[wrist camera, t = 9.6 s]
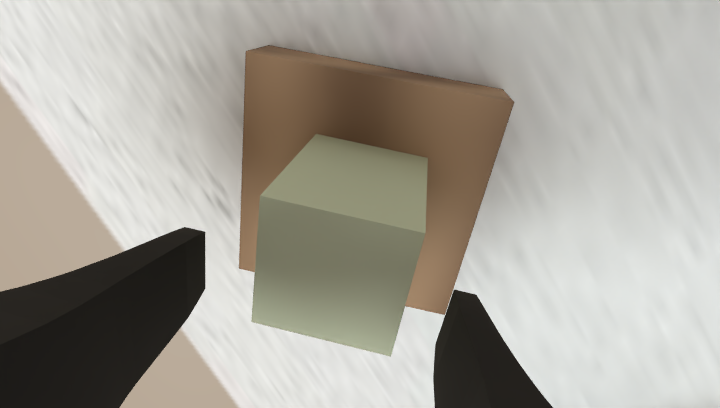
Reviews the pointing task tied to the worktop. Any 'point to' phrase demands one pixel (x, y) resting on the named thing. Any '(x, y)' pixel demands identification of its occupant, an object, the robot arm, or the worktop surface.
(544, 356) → the worktop surface
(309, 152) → the sage block
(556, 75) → the worktop surface
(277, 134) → the walnut block
